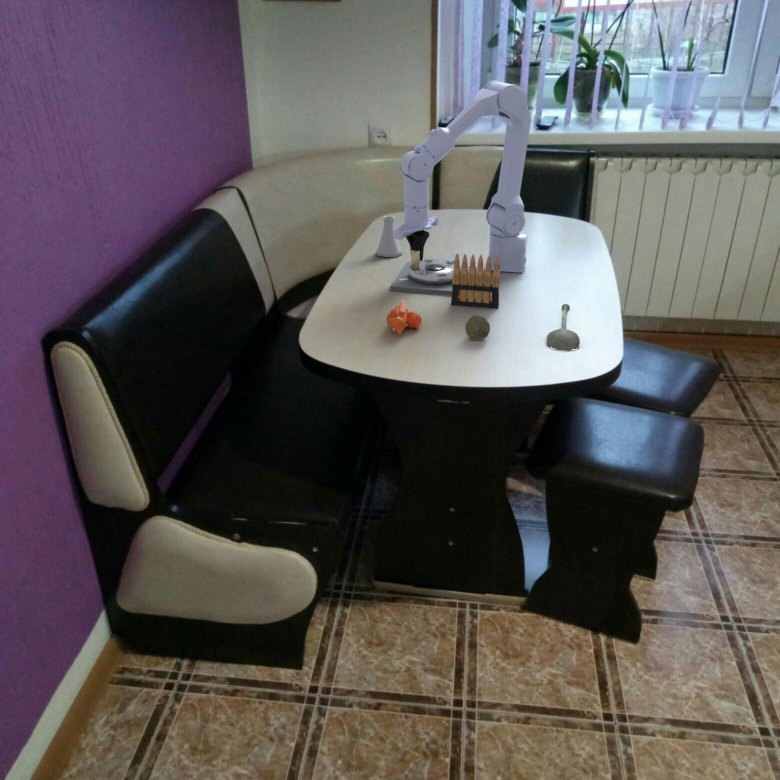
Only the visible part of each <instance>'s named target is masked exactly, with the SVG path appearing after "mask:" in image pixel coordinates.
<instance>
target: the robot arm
mask: <svg viewBox="0 0 780 780" xmlns="http://www.w3.org/2000/svg"><path fill="white" fill-rule="evenodd" d="M529 109H530V108H529V106H528V94H527V93H526V92H525V91H524V90H523V88H521V86H519V85H518V84H515V83H514V84H513V83H512V84H511V83H507V82H502V81H500V80H495V79H494V80H490V81H488V82H487V83H486V84H485V86H484V87H483V88H481V89H479V90H478V91H477V92H476V94H475V96H474V97H473V98H472V100H471V101H470V102H469V103H468V104H467V105H466V106H465V107H464V108H463V109H462V110H461V111H460V112H459V113H458V114H457V115H456V116H455V117H454V118H453V119H452V120H451V121H450V123H448V124H447V126H445V127H437V128H436V129H435V128H432V129H431V130H430V131H429V136H426V138H425V139H424V140H423V141H422V142H421V143H419V144H416V145H415V146H414V150H411V151H408V152H406V153H405V154H404V155H403V156H402V158H401V160H400V163H399V164H398V167H399V170H400V172H401V173H402V174H403V205H404V206H403V207H404V208H403V209H404V211H403V212H404V213H403V214H404V218H403V219H404V223H402V225H401V226H399V227H398V228H397V229H394V230H395V231H394V238H395V239H397V240H398V241H402V240H404V238H405V239H406V240H407V242H408V244H409V248H410V251H411V250H412V249H419V250H420V261H422V260H424V250H425V249H424V248H425V245H426V243H427V241H428V239H429V238H430V232H429V230H431V229H432V228H433V226H435V227H436V226H437V225H439V224H438V223H439V217H438V216H433V215H430V216H429V178H430V177H431V176H432V174H433V172H434V167H435V166H437V164H438V163H439V162H440V161H441V160H442V159H443V158H444V157H446V156H447V155H448V153H450V152H451V151H452V150H453V149H454V148H455V145H456V140H457V138H459V136H461V135H462V134H463V133H465V132H466V131H467V130H469V128H470V127H472V126H473V125H474V124H475V123H477V122H478V121H479V120H480V119H482V118H483V117H490V116H498V117H499V118H500V119H501V120H502V121H503V122H504V124H505V125H506V129H505V135H504V136H505V137H504V141H503V142H504V143H503V149H502V157H501V165H500V171H499V177H498V187H497V192H496V193H495V194H494V195H493V196H492V197H491V199H490V200H491V202H490V204H489V206H488V209H487V210H486V213H485V219H486V222H487V224H488V225H489V232H490V233H489V242H488V243H489V245H488V256H489V255H490V258H491V272H492V271H494V263H495V259H496V257H497V256H498V257H499V264H500V267H499V269H500V272H505V273H507V272H508V273H517V274H519V273H520V274H522V273H524V269H525V267H526V266H525V265H526V264H527V263H526V262H527V243H528V235H527V234H525V233H521V232H522V231H523V230H524V228H525V225H526V217H525V214H524V210H525V205H524V203H523V200H522V198H521V189H522V182H523V175H524V169H525V161H526V155H527V148H528V143H529V142H528V141H529V138H530V137H529V135H530V130H531V124H532V116H531V112H530V110H529ZM484 270H486V266H484Z"/></svg>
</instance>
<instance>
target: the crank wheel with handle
mask: <svg viewBox="0 0 780 780" xmlns="http://www.w3.org/2000/svg"><path fill="white" fill-rule="evenodd" d="M410 258H411V259H410V262H411V264H410V266H409V278H410V279H412V280H414V281H416V282H419V283H423V284H434V285H437V284H448V283H452V282H453V270H454V261H455V259H451V258H447V259H440V258H437V259H436V258H433V257H425V258H424V259H423V260H422V261H420V250H419V249H412V250H410ZM461 270H462V267H461V266H460V278H461Z"/></svg>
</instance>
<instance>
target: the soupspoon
mask: <svg viewBox="0 0 780 780" xmlns="http://www.w3.org/2000/svg"><path fill="white" fill-rule="evenodd" d="M561 309H562V317H561V318H562V319H561V328H559V329H558V328H557V329H555V330H552V331H549V332H548V334H547V336H546V344H547V346H548V347H549V346H550V347H552V348H555V349H558V350H557V351H560V350H572V349H576V348H577V349H578V348H579V347H580V344H581V341H580V340H581V339H580V336H579V335H578V334H577V333H576V332H574V331H573V330H570V329H567V312H568V310H570V309H571V307H570V305H569V304H568V303H563V304H562V306H561ZM550 347H549V348H550ZM555 349H554V350H555Z"/></svg>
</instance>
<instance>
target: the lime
mask: <svg viewBox="0 0 780 780" xmlns="http://www.w3.org/2000/svg"><path fill="white" fill-rule="evenodd" d="M464 329H465V333H466V335H467V337H468V338H469V339H470V340H472V341H481V340H482V341H483V340H484V339H486V338H487V337H488V336H489V334H490V331H491V324H490V322H489V320H488V319H487V318H486V317H485V316H483V315H480V314H476V315H475V314H474V315H472V316H471V317H469V318H468V319H467V322H466V323H465V326H464Z"/></svg>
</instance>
